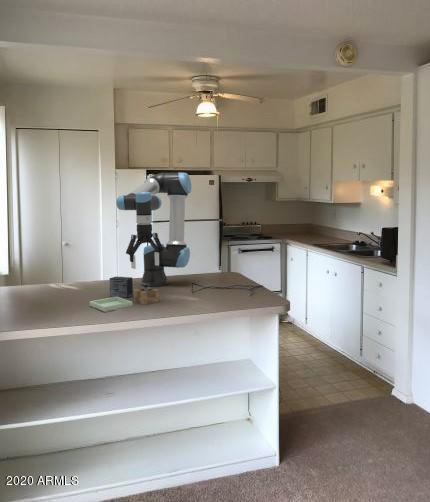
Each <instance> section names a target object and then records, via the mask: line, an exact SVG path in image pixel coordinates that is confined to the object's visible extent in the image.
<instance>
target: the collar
mask: <svg viewBox="0 0 430 502" xmlns="http://www.w3.org/2000/svg"><path fill="white" fill-rule="evenodd" d="M148 287H149V286H148ZM133 302H134V303H136V304H141V305H144V306H145V305H149V304H154V303H160V291H159V289H156V288H155V287H149V291H144V287H141V288H136V289H135V288H134V289H133Z"/></svg>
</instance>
